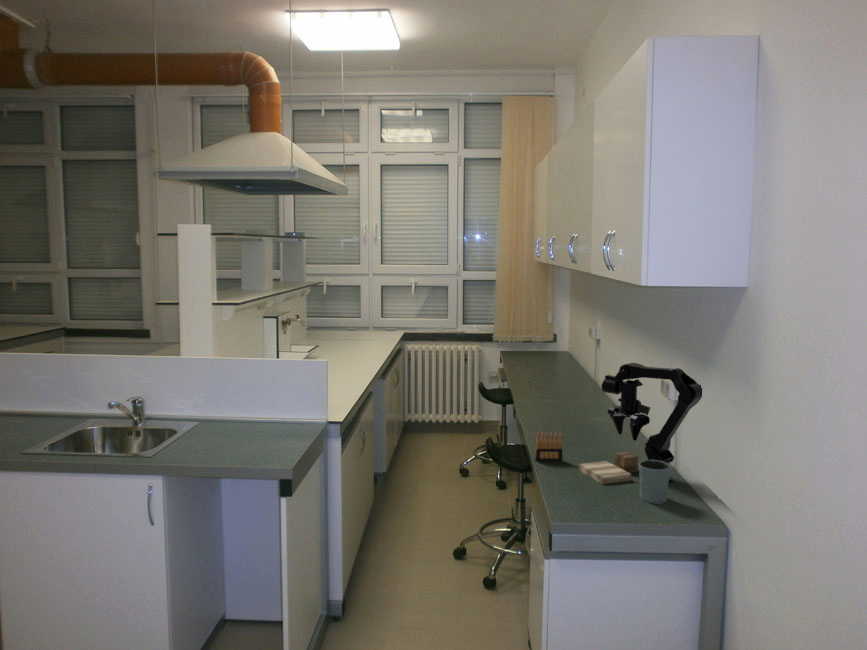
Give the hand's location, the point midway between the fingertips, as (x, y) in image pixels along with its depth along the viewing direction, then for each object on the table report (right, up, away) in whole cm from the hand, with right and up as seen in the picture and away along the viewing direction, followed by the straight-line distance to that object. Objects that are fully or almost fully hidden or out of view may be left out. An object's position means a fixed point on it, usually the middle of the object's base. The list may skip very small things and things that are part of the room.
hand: (627, 437), depth 255 cm
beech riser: (-10, -13, -5) cm, 17 cm away
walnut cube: (0, -13, +1) cm, 13 cm away
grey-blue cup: (0, -16, -29) cm, 33 cm away
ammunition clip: (-28, -11, +12) cm, 32 cm away
